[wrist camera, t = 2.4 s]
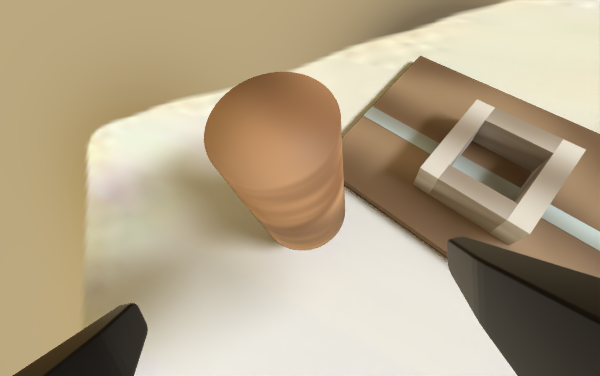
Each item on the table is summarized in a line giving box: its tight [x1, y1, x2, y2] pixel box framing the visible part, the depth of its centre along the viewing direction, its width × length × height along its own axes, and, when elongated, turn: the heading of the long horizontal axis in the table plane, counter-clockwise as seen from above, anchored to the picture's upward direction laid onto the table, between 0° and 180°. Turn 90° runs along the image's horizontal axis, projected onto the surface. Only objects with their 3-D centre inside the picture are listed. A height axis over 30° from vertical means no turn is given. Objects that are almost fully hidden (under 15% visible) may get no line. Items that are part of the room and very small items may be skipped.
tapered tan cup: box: [204, 72, 345, 250], centre depth 17 cm, size 6×6×12 cm
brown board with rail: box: [342, 56, 600, 278], centre depth 20 cm, size 14×22×3 cm, turn 47°
